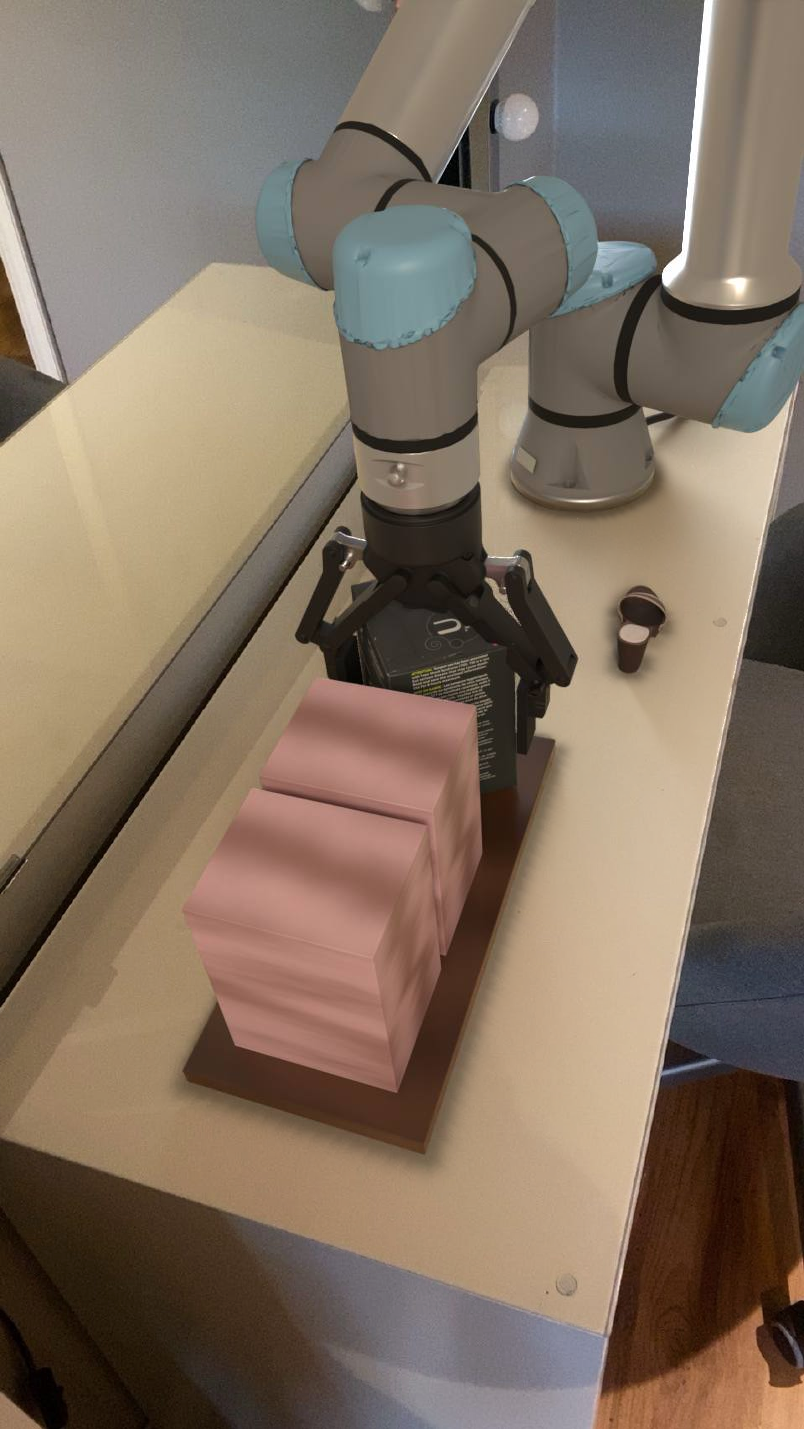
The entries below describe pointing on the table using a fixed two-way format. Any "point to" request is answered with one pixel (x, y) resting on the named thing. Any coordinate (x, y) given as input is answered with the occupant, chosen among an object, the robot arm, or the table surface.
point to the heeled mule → (638, 625)
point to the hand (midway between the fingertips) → (438, 725)
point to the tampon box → (446, 675)
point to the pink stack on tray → (358, 911)
